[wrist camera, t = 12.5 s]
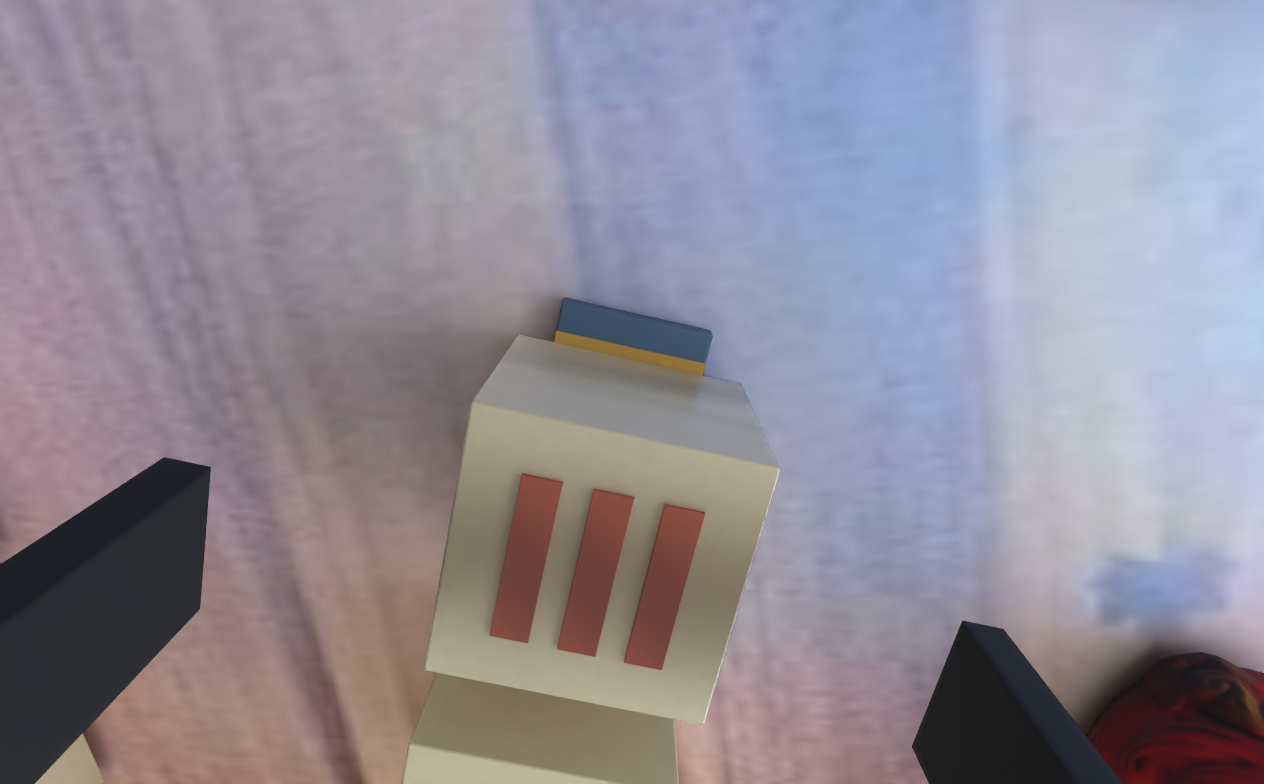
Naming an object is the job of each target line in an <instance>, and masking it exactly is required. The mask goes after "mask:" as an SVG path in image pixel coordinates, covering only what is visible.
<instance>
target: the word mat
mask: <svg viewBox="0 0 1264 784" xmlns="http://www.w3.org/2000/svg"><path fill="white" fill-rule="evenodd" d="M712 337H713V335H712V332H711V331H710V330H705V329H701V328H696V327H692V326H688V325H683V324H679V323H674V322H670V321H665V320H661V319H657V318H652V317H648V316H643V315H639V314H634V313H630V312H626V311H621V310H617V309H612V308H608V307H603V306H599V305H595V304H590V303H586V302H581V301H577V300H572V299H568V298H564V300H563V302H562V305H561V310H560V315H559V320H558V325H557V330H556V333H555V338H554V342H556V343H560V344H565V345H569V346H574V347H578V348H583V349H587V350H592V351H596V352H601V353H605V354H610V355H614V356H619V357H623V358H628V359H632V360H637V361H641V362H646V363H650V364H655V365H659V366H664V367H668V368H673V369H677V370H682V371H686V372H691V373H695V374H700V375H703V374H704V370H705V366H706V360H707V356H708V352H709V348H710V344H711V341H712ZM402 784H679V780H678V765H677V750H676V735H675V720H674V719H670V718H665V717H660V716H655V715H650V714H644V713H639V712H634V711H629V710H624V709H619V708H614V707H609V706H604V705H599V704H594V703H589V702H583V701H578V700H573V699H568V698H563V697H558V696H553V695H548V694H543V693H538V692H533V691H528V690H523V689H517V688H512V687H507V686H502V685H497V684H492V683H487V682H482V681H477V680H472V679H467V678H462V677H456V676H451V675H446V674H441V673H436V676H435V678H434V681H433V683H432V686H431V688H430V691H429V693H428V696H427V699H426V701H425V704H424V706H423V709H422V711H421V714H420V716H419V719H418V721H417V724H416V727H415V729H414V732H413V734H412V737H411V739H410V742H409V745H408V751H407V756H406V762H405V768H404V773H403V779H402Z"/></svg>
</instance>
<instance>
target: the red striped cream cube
mask: <svg viewBox="0 0 1264 784" xmlns="http://www.w3.org/2000/svg"><path fill="white" fill-rule="evenodd" d="M779 473H780V467H779V464H778V462H777V460H776V458H775V456H774V454H773V452H772V449H771V447H770V445H769V443H768V441H767V439H766V437H765V434H764V432H763V430H762V428H761V426H760V424H759V422H758V419H757V417H756V415H755V413H754V411H753V409H752V406H751V404H750V402H749V400H748V398H747V396H746V394H745V391H744V389H743V387H742V385H741V384H740V383H736V382H731V381H727V380H722V379H718V378H713V377H709V376H704V375H700V374H695V373H691V372H686V371H682V370H677V369H673V368H668V367H664V366H659V365H655V364H650V363H646V362H641V361H637V360H632V359H628V358H623V357H619V356H614V355H610V354H605V353H601V352H596V351H592V350H587V349H583V348H578V347H574V346H569V345H565V344H560V343H556V342H551V341H547V340H542V339H538V338H533V337H529V336H524V335H520V334H519V335H517V337H516V338H515V340H514V341H513V343H512V344H511V346H510V347H509V348H508V350H507V351H506V353H505V354H504V356H503V357H502V359H501V360H500V362H499V363H498V364H497V366H496V367H495V369H494V370H493V372H492V373H491V375H490V376H489V378H488V379H487V381H486V382H485V383H484V385H483V386H482V388H481V389H480V391H479V392H478V394H477V395H476V397H475V398H474V399H473V401H472V402H471V406H470V412H469V417H468V423H467V429H466V434H465V440H464V445H463V451H462V457H461V462H460V468H459V474H458V479H457V485H456V490H455V496H454V502H453V507H452V513H451V518H450V524H449V530H448V535H447V541H446V547H445V552H444V558H443V563H442V569H441V575H440V580H439V586H438V591H437V597H436V603H435V608H434V614H433V620H432V625H431V631H430V636H429V642H428V648H427V653H426V659H425V664H424V669H425V670H426V671H431V672H436V673H441V674H446V675H451V676H456V677H462V678H467V679H472V680H477V681H482V682H487V683H492V684H497V685H502V686H507V687H512V688H517V689H523V690H528V691H533V692H538V693H543V694H548V695H553V696H558V697H563V698H568V699H573V700H578V701H583V702H589V703H594V704H599V705H604V706H609V707H614V708H619V709H624V710H629V711H634V712H639V713H644V714H650V715H655V716H660V717H665V718H670V719H675V720H680V721H685V722H690V723H695V724H700V725H703V724H704V722H705V719H706V715H707V712H708V709H709V705H710V702H711V699H712V696H713V692H714V689H715V686H716V682H717V679H718V676H719V672H720V669H721V666H722V662H723V659H724V656H725V652H726V649H727V646H728V642H729V639H730V636H731V632H732V629H733V626H734V622H735V619H736V616H737V612H738V609H739V606H740V602H741V599H742V596H743V593H744V589H745V586H746V583H747V579H748V576H749V573H750V569H751V566H752V563H753V559H754V556H755V553H756V549H757V546H758V543H759V539H760V536H761V533H762V529H763V526H764V523H765V519H766V516H767V513H768V509H769V506H770V503H771V499H772V496H773V493H774V490H775V486H776V483H777V480H778V476H779Z"/></svg>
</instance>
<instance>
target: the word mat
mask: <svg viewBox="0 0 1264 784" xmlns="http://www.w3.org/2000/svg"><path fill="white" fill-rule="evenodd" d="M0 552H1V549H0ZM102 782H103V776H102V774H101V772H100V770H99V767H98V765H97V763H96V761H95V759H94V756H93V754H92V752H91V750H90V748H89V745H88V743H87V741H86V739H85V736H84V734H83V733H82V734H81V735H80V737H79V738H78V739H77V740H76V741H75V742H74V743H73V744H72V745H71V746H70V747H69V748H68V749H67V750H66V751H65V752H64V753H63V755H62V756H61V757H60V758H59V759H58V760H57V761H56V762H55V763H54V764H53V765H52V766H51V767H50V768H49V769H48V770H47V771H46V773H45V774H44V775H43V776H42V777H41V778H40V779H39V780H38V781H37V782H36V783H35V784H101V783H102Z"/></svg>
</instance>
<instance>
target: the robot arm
mask: <svg viewBox="0 0 1264 784" xmlns="http://www.w3.org/2000/svg"><path fill="white" fill-rule="evenodd" d="M210 471H211V467H209V466H204V465H199V464H194V463H190V462H185V461H180V460H175V459H170V458H165V457H164V458H162V459H161V460H159V461H158V462H156V463H155V464H153V465H151V466H150V467H148V468H147V469H145V470H144V471H142V472H141V473H139V474H138V475H136V476H135V477H133V478H132V479H130V480H129V481H127V482H126V483H124V484H122V485H121V486H119V487H118V488H116V489H115V490H113V491H112V492H110V493H109V494H107V495H106V496H104V497H103V498H101V499H100V500H98V501H97V502H95V503H94V504H92V505H90V506H89V507H87V508H86V509H84V510H83V511H81V512H80V513H78V514H77V515H75V516H74V517H72V518H71V519H69V520H68V521H66V522H65V523H63V524H61V525H60V526H58V527H57V528H55V529H54V530H52V531H51V532H49V533H48V534H46V535H45V536H43V537H42V538H40V539H39V540H37V541H36V542H34V543H32V544H31V545H29V546H28V547H26V548H25V549H23V550H22V551H20V552H19V553H17V554H16V555H14V556H13V557H11V558H10V559H8V560H7V561H5V562H3V563H2V564H0V784H35V783H36V782H37V781H38V780H39V779H40V778H41V777H42V776H43V775H44V774H45V773H46V771H47V770H48V769H49V768H50V767H51V766H52V765H53V764H54V763H55V762H56V761H57V760H58V759H59V758H60V757H61V756H62V755H63V753H64V752H65V751H66V750H67V749H68V748H69V747H70V746H71V745H72V744H73V743H74V742H75V741H76V740H77V739H78V738H79V737H80V735H81V734H82V733H83V732H84V731H85V730H86V729H87V728H88V727H89V726H90V725H91V724H92V723H93V722H94V721H95V720H96V719H97V717H98V716H99V715H100V714H101V713H102V712H103V711H104V710H105V709H106V708H107V707H108V706H109V705H110V704H111V703H112V702H113V701H114V699H115V698H116V697H117V696H118V695H119V694H120V693H121V692H122V691H123V690H124V689H125V688H126V687H127V686H128V685H129V684H130V683H131V681H132V680H133V679H134V678H135V677H136V676H137V675H138V674H139V673H140V672H141V671H142V670H143V669H144V668H145V667H146V666H147V665H148V663H149V662H150V661H151V660H152V659H153V658H154V657H155V656H156V655H157V654H158V653H159V652H160V651H161V650H162V649H163V648H164V646H165V645H166V644H167V643H168V642H169V641H170V640H171V639H172V638H173V637H174V636H175V635H176V634H177V633H178V632H179V631H180V630H181V628H182V627H183V626H184V625H185V624H186V623H187V622H188V621H189V620H190V619H191V618H192V617H193V616H194V615H195V614H196V613H197V612H198V610H199V609H200V602H201V589H202V576H203V563H204V550H205V537H206V524H207V510H208V497H209V484H210ZM912 748H913V750H914V752H915V754H916V756H917V759H918V761H919V763H920V765H921V767H922V769H923V771H924V774H925V776H926V778H927V780H928V782H929V784H1123V783H1122V782H1121V781H1120V779H1119V778H1118V777H1117V776H1116V774H1115V773H1114V772H1113V770H1112V769H1111V768H1110V766H1109V765H1108V764H1107V763H1106V761H1105V760H1104V759H1103V757H1102V756H1101V755H1100V754H1099V752H1098V751H1097V750H1096V748H1095V747H1094V746H1093V744H1092V743H1091V742H1090V741H1089V739H1088V738H1087V737H1086V735H1085V734H1084V733H1083V731H1082V730H1081V729H1080V728H1079V726H1078V725H1077V724H1076V722H1075V721H1074V720H1073V719H1072V717H1071V716H1070V715H1069V713H1068V712H1067V711H1066V709H1065V708H1064V707H1063V706H1062V704H1061V703H1060V702H1059V700H1058V699H1057V698H1056V696H1055V695H1054V694H1053V693H1052V691H1051V690H1050V689H1049V687H1048V686H1047V685H1046V684H1045V682H1044V681H1043V680H1042V678H1041V677H1040V676H1039V674H1038V673H1037V672H1036V671H1035V669H1034V668H1033V667H1032V665H1031V664H1030V663H1029V661H1028V660H1027V659H1026V658H1025V656H1024V655H1023V654H1022V652H1021V651H1020V650H1019V649H1018V647H1017V646H1016V645H1015V643H1014V642H1013V641H1012V639H1011V638H1010V637H1009V636H1008V634H1007V633H1006V632H1005V630H1004V629H1001V628H996V627H991V626H986V625H981V624H976V623H971V622H967V621H962V623H961V625H960V628H959V630H958V633H957V635H956V638H955V640H954V643H953V645H952V648H951V650H950V653H949V655H948V658H947V660H946V663H945V665H944V668H943V670H942V673H941V675H940V678H939V680H938V683H937V685H936V688H935V690H934V693H933V695H932V698H931V700H930V703H929V705H928V708H927V710H926V713H925V715H924V717H923V720H922V722H921V725H920V727H919V730H918V732H917V735H916V737H915V740H914V742H913V745H912Z"/></svg>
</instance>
